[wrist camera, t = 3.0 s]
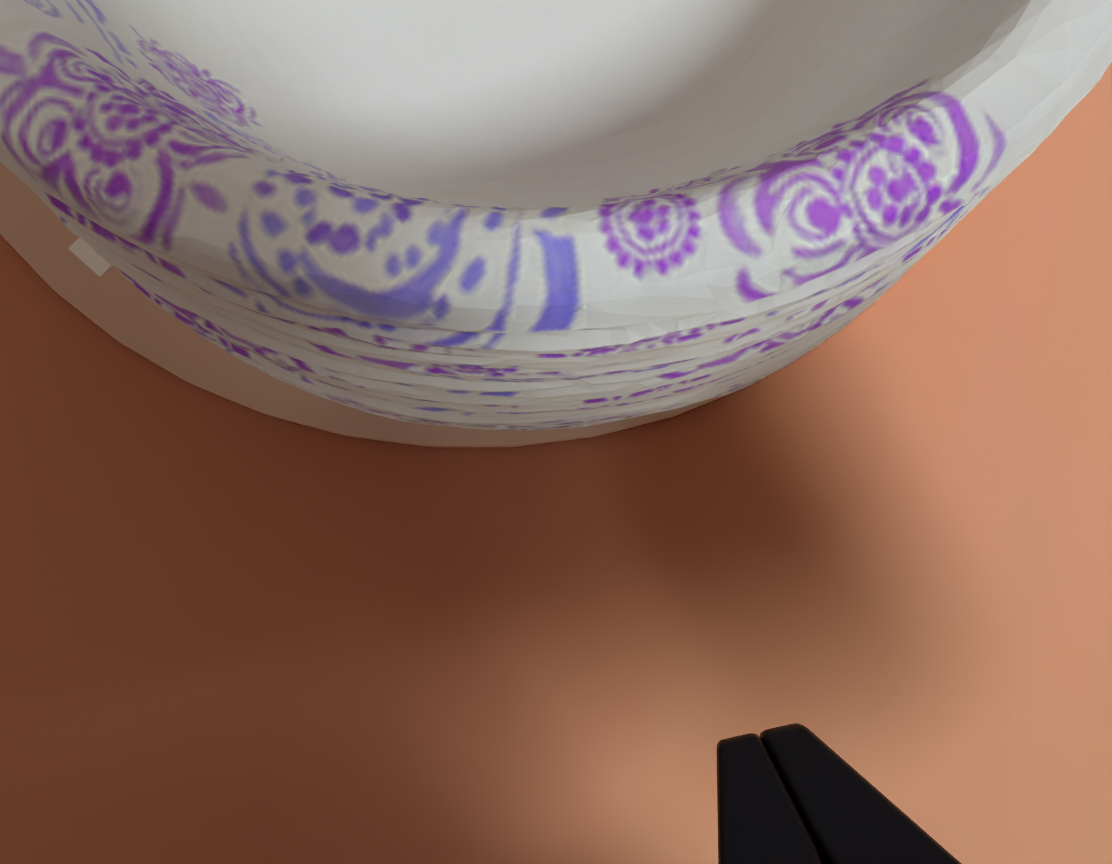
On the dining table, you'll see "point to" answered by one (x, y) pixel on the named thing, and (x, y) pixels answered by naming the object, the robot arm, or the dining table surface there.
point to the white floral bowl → (528, 178)
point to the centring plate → (196, 360)
